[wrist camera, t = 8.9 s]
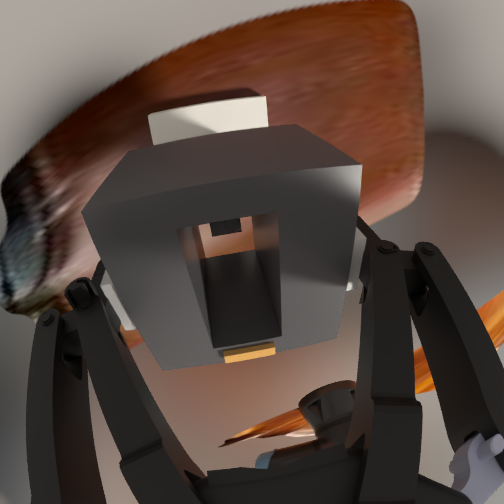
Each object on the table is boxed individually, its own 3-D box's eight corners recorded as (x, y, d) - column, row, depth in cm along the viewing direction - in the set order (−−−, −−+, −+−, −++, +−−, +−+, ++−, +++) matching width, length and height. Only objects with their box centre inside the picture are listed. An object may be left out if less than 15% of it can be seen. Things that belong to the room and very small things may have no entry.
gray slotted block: (296, 124, 14) (366, 167, 8) (298, 257, 19) (338, 342, 13) (128, 151, 13) (78, 216, 7) (167, 280, 18) (162, 375, 13)
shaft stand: (270, 202, 29) (298, 256, 21) (174, 219, 28) (167, 280, 20) (262, 95, 22) (294, 105, 15) (150, 113, 22) (123, 133, 14)
